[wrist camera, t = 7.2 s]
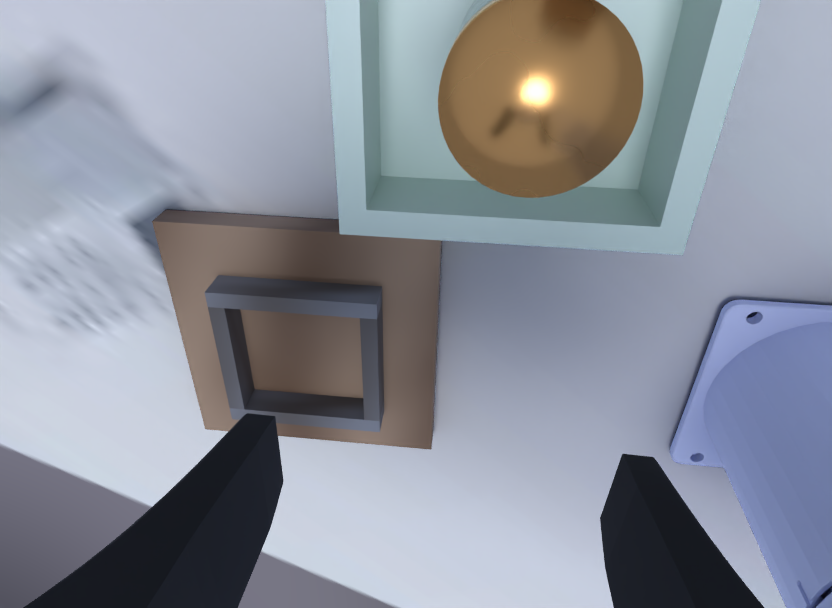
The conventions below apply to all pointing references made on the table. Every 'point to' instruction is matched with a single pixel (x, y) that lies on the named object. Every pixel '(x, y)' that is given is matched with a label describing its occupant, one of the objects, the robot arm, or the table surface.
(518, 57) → the metal can
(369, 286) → the socket plate
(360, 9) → the bin
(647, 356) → the table surface
